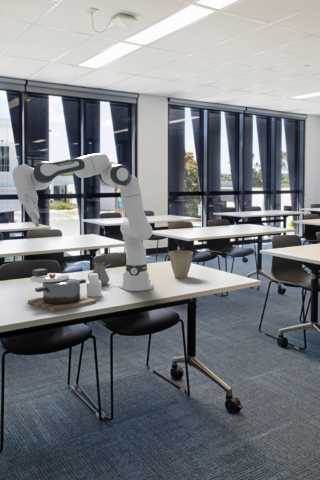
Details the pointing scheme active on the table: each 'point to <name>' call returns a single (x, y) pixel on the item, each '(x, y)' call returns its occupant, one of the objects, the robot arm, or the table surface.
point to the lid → (47, 276)
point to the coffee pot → (103, 271)
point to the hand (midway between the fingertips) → (36, 225)
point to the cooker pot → (61, 292)
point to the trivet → (58, 308)
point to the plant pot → (181, 262)
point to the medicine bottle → (93, 285)
